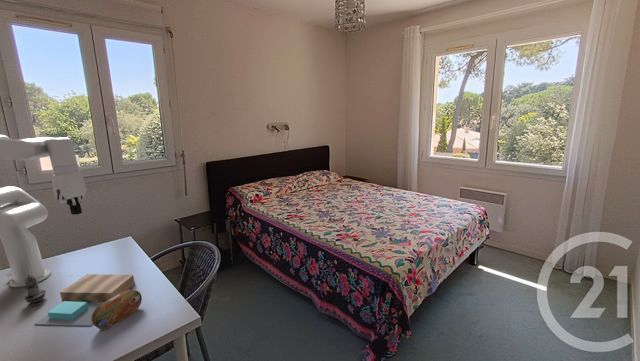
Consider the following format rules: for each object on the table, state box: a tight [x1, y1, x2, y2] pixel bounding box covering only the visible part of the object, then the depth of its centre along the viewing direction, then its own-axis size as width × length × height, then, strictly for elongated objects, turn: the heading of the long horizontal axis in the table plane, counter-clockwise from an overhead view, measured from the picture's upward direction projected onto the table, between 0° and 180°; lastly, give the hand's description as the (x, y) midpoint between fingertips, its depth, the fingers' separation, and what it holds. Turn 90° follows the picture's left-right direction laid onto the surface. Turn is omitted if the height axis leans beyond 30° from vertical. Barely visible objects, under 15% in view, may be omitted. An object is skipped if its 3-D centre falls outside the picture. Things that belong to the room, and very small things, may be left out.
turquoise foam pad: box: [47, 301, 88, 320], centre depth 101 cm, size 9×6×2 cm, turn 85°
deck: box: [59, 273, 136, 303], centre depth 113 cm, size 20×12×4 cm, turn 86°
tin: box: [92, 289, 143, 330], centre depth 98 cm, size 15×3×8 cm, turn 154°
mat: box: [34, 302, 103, 327], centre depth 101 cm, size 20×11×1 cm, turn 86°
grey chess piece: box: [23, 275, 48, 309], centre depth 106 cm, size 6×6×12 cm
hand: (76, 213), depth 117 cm, fingers closed
